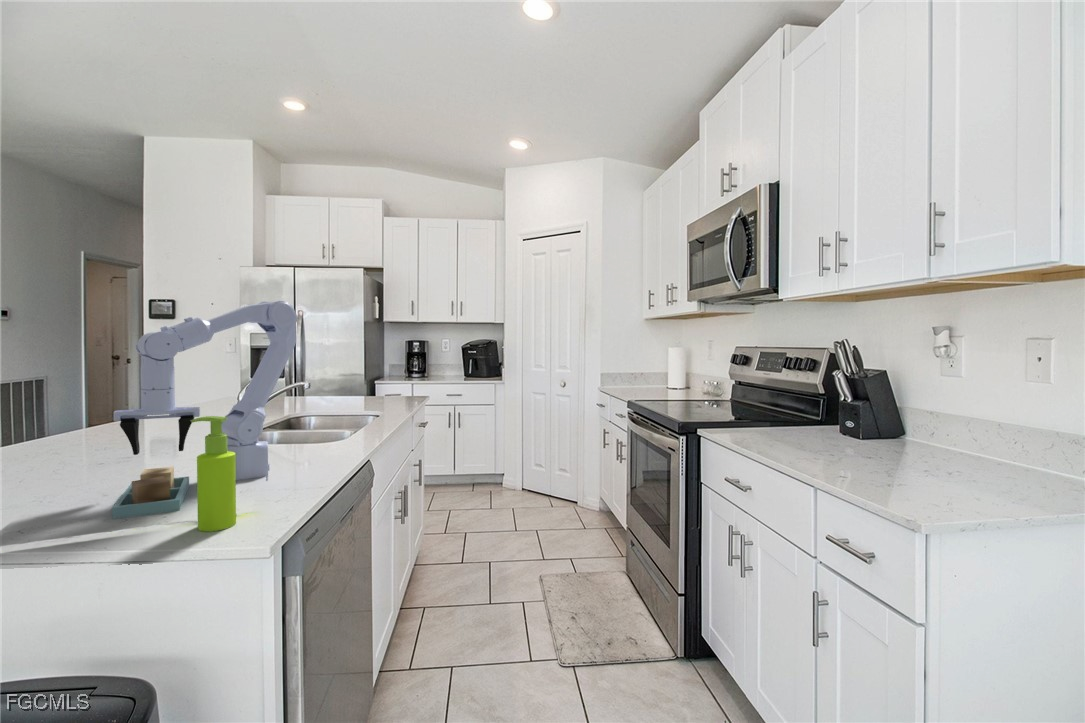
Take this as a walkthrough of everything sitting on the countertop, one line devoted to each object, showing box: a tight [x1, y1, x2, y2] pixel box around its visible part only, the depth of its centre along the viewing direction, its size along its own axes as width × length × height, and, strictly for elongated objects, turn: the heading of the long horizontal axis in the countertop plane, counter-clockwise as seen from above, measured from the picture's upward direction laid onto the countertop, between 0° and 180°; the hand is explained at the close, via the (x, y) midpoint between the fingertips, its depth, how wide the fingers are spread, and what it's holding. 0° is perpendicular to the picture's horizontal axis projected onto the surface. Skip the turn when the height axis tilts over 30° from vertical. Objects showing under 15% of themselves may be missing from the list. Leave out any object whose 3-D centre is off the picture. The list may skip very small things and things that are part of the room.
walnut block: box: [131, 476, 170, 504], centre depth 98 cm, size 5×5×5 cm
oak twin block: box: [139, 466, 175, 488], centre depth 106 cm, size 5×5×5 cm
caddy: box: [111, 476, 190, 520], centre depth 102 cm, size 10×18×3 cm, turn 30°
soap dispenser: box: [190, 415, 237, 532], centre depth 92 cm, size 6×7×20 cm
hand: (159, 452), depth 108 cm, fingers open, 7 cm apart
